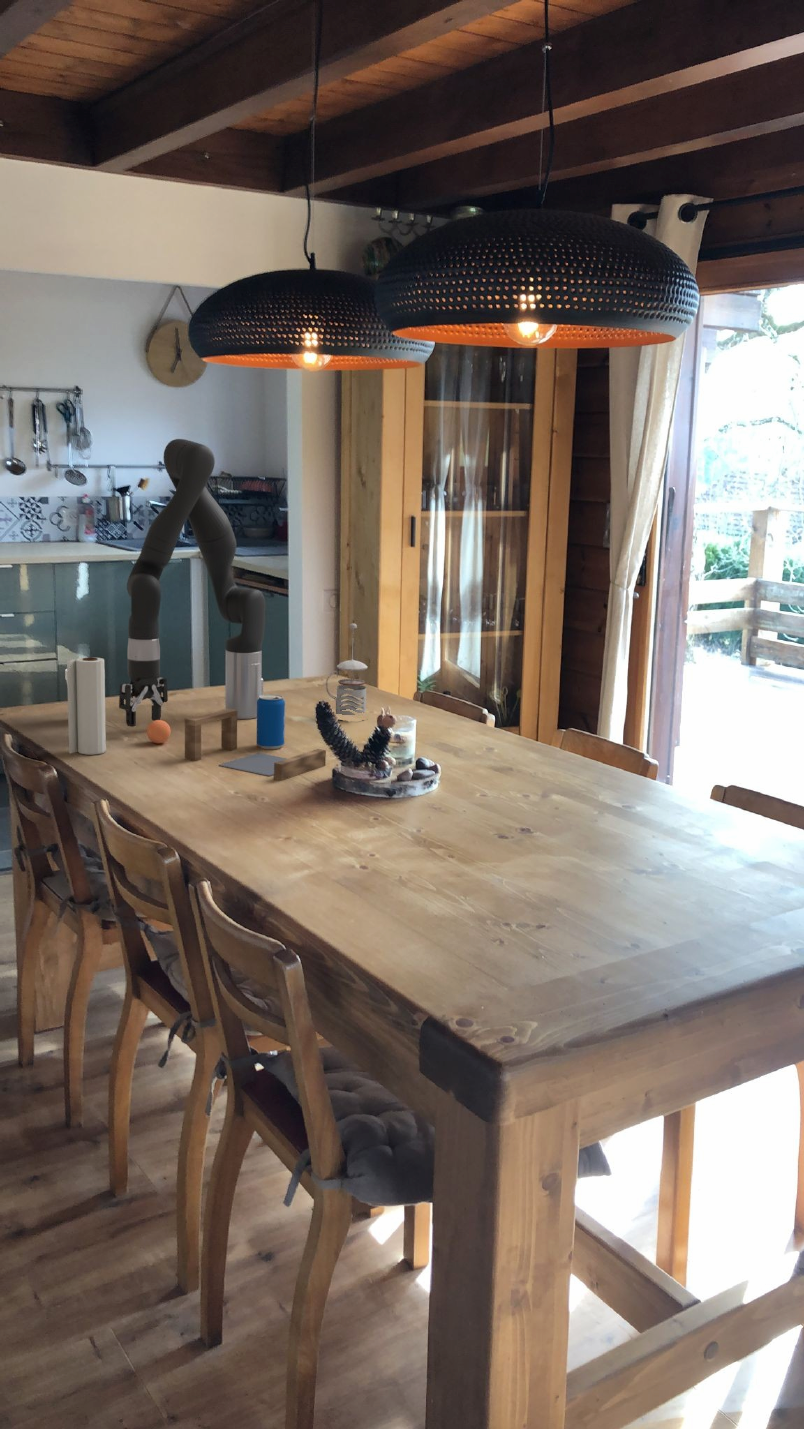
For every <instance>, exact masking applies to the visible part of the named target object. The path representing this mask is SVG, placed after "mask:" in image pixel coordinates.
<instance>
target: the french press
mask: <svg viewBox="0 0 804 1429" xmlns="http://www.w3.org/2000/svg"><path fill="white" fill-rule="evenodd" d="M357 628H358V627H357V624H356V623H350V624H349V629H352V633H354V632H355V631H354V629H357ZM351 645H352V646H351V647H352V648H351V649H352V650H351V653H352V654H351V659H350V660H344V661H342V662H340V663H339V664H337V665H336V668H337V669H339V670H343V671H351V672H354V671H366V670H367V669H368V668H369V667H368V666H367V664H365V663H363V662H361V661H359V660H355V659H354V639H352V643H351ZM333 674H336V677H337V678H338V676H339V671H338V670H334V671H332V672H330V673H329V674H328V676H327V677H326V681H325V689H326V690H325V691H326V693H327V695H328V696H329V697H330V698H332V699H334V700H335V714H342V715H355V714H354V713H352V712H350V711H342V710H346V709H350V710H353V711H355V712H357V713H362V712H363V713H365V712H366V713H367V687H366V686H364V685H365V684H366V681H365V680H362V679H358V678H356V679H355V678H353V676H350V677H351V678H342V679H339V680H338V681H337V682H338V684H339V685H338V686H337V688H336V696H335V695H333V694H332V693H331V692H330V691H329V687H328V681H329V678H330V677H331V676H332V675H333ZM344 695H345V696H344ZM360 699H361V700H360ZM360 704H361V705H360ZM356 709H359V710H356Z"/></svg>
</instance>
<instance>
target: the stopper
mask: <svg viewBox="0 0 804 1429" xmlns="http://www.w3.org/2000/svg"><path fill="white" fill-rule="evenodd" d="M326 752H327V751H326V749H322V748H316V749H313V750H311V751H308V752H307V751H306V752H305V753H304V752H303V753H301V754H297V755H294V756H292V757H289V758H287V759H285V760H282V761H279V762H275V763H274V775H273V779H274V780H277V781H284V780H287V779H291V778H293V777H296V776H299V775H301V774H305V773H307V772H311V771H313V770H316V769H319V768H322V767H325V766H326V758H327V756H326Z"/></svg>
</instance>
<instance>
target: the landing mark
mask: <svg viewBox="0 0 804 1429" xmlns="http://www.w3.org/2000/svg"><path fill="white" fill-rule="evenodd" d="M285 759H288V758H287V757H281V756H278V755H277V756H276V755H271V754H267V753H261V752H256V753H254V754H253V753H252V754H250V755H247V756H244V757H239V758H236V759H233V760H229V761H226V762H224V763H221V764H218V766H219V767H224V768H226V769H231V770H236V771H237V770H238V771H242V772H247V773H251V774H256V775H261V776H266V777H272V776H274V763H275V762H279V761H282V760H285Z"/></svg>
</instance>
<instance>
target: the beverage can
mask: <svg viewBox="0 0 804 1429" xmlns="http://www.w3.org/2000/svg"><path fill="white" fill-rule="evenodd" d="M285 712H286V700H285V699H284V696H283V695H281V694H274V693H268V694H267V693H266V694H265V693H264V694H263V695H260V696H259V699H258V701H257V718H256V745H257V746H259V748H261V749H264V750H278V749H281V748H282V747H283V746H284V745H285V732H286V731H285V727H286V725H285V721H286V719H285V716H286V713H285Z"/></svg>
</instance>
